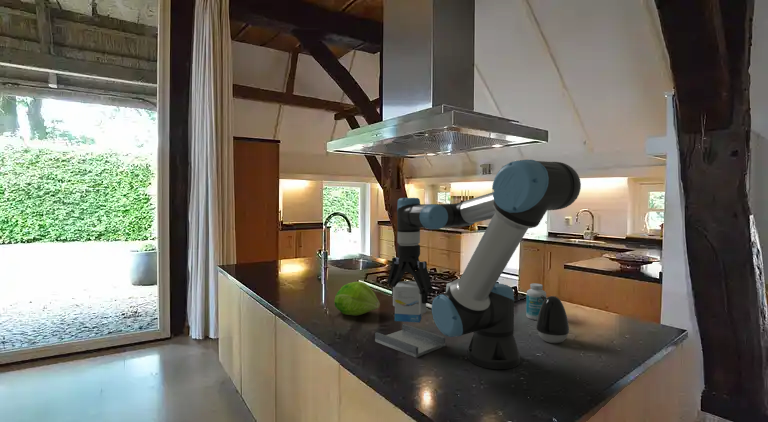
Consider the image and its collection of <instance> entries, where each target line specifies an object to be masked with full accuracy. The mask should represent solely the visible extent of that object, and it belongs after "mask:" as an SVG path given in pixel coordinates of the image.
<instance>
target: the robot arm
mask: <svg viewBox="0 0 768 422" xmlns="http://www.w3.org/2000/svg"><path fill="white" fill-rule="evenodd" d="M581 185H582V183H581V179H580V176H579V174H578V172H577V171H576V170H575V169H574V168H573V167H572V166H570V165H569V164H567V163H565V162H559V161H543V160H534V159H521V160H514V161H511V162H509V163H506V164H505V165H503V167H501V168H500V170H499V171H498V172H497V174H496V175H495V177H494V179H493V183H492V188H491V189H492V190H493V191H492V192H490V193H487V194H483V195H479V196H476V197H473V198H470V199H466V200H463V201H460V202H457V203H431V204H429V203H427V204H425V203H424V204H421V200H420V198H419V197H400V198H399V199H397V208H396V215H397V217H396V218H397V219H396V221H397V226H396V227H397V236H396V237H397V240H396V241H397V244H398V245H397V256H395V257H392V259H391V266H390V271H389V274H388V278H387V281H386V282H387V285H390V287H391V296H392V306H393V307H395V286H396V285H397V284H398V282H399V281H401V280H402V278H403V277H404V275H405V274H406V272H407V273H409V274H410V275H411V276H412V277H413V279H414V282H416V283H417V285H418V287H419V290H420V292H421V293H419V314H422V313H423V314H425V313H427V303H428V299H429V298H428V295H429V294H428V293H432V292H433V291H434V289H433V285H432V282H431V278H430V275H429V271H428V265H427V264H428V262H427V261H420V259H419V257H420V255H421V245H420V243H421V229H428V230H441V229H442V228H443V229H444V228H452V227H453V228H454V227H455V228H456V227H468V226H473V225H474V223H475V224H476V223H479V222H482V221H483V222H484V221H487V220H490V221H489V224H488V226H487V227H486V228H485V231H484V233H483V235H482V237H481V239H480V240H479V242H478V244H477V246H476V248H475V250H474V252H473V254H472V256H471V258H470V259H469V261H468V263H467V265H466V267H465V269H464V270H463V273H462V275H461V277H460V278H457V279H454V280H453V281H451V282H452V283H451V282H450V283H451V285H450V287H449V289H448V291H447V293H446V292H445V293H444V294H439V295H437V296H435V297H434V298H433V300H432V303H431V315H432V318H433V321H434V324H435V325H436V328H438V330H439V332H440V333H442V335H443V336H445V337H449V338H454V337H461V336H463V335H467V334H471V333H473V334H472V337H471V340H470V343H469V346H468V349H467V359H468V360H469V361H470V363H472V364H474V365H476V366H479V367H480V368H481V367H482V368H485V369H490V370H508V369H512V368H515V367H518V366H519V365H520V362H521V359H520V358H521V355H520V351H519V348H518V344H517V342H516V338H515V336H514V335H515V334H514V333H515V332H514V331H515V330H514V327H515V325H514V323H515V322H514V321H515V315H514V314H515V298H514V297H515V295H514V293H515V292H514V289H513V288H512V286H510V285H507V284H505V283H498V280H499V278H500V277H501V275H502V274H503V271H504V270H505V268H506V266H507V265H508V263H509V262H510V260H511V258H512V257H513V255H514V253H515V251H516V250H517V248H518V247H519V245H520V243H521V241H522V240H523V237H525V235H526V233H527V232H528V229H533V228H534V229H535V228H536V227H538V225H540V223H541V221H542V220H543V218H544V217H545V215H546V213H547V212H548V211H557V210H562V209H566V208H567V207H569V206H571V205H572V204H573V203H574V202H575V201H576V200H577V199H578V197H579V195H580V192H581V188H582V186H581Z"/></svg>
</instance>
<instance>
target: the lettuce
mask: <svg viewBox="0 0 768 422" xmlns="http://www.w3.org/2000/svg"><path fill="white" fill-rule="evenodd" d="M333 304H334V307H335V308H336V310H338V311H339V312H340V313H341V314H343V315H348V316H356V317H357V316H358V317H359V316H361V315H363V314H366V313H369V312H371V311H374V310H377V309H379V308H380V306H381V303H380V301H379V299H378V297H377V295H376V293H375V292H374V290H372V288H371V287H370V285H368V284H367V283H366V282H363V281H353V282H348V283H346V284H344V285H342V286H341V287H340V289H339V290H337V293H336V294H335V297H334V303H333Z"/></svg>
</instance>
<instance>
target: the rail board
mask: <svg viewBox="0 0 768 422" xmlns="http://www.w3.org/2000/svg"><path fill="white" fill-rule="evenodd" d="M374 338H375V339H374V342H376V343H377V344H380V345H383V346H385V347H388V348H390V349H393V350H396V351H398V352H401V353H403V354H406V355H407V356H411V357H412V358H413V357H414V358H416V359H417V358H420V357H421V356H425V355H426V354H429V353H431V352H433V351H436V350H439V349H441V348H443V347H446V336H445V335H440V334H437V333H434V332H431V331H428V330H426V329H425V330H424V329H421V328H418V327H415V326H412V325H408V324H406V323H402V324H401V330H398V331H395V332H392V333H389V334H383V333H380V332H378V331H377V332H375V333H374Z"/></svg>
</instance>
